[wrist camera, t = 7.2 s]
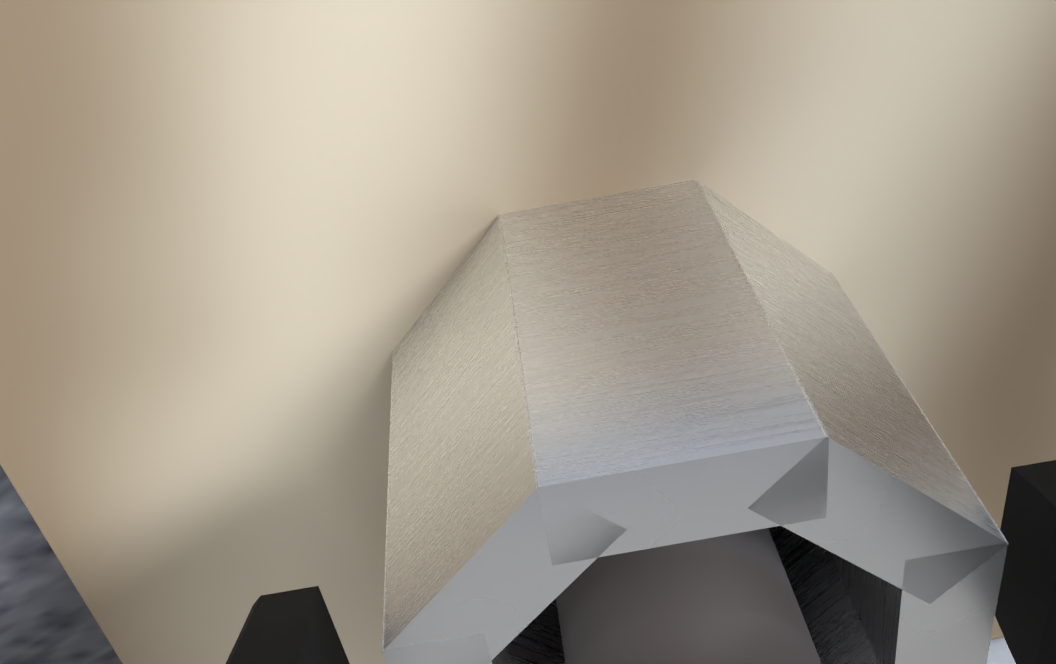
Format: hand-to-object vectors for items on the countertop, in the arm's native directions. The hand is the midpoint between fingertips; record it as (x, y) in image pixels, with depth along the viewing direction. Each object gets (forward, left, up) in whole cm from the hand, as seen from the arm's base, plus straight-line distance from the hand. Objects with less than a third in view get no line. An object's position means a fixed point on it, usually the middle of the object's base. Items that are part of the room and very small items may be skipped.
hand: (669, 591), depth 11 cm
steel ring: (0, 0, -3) cm, 3 cm away
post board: (0, 0, -4) cm, 4 cm away
